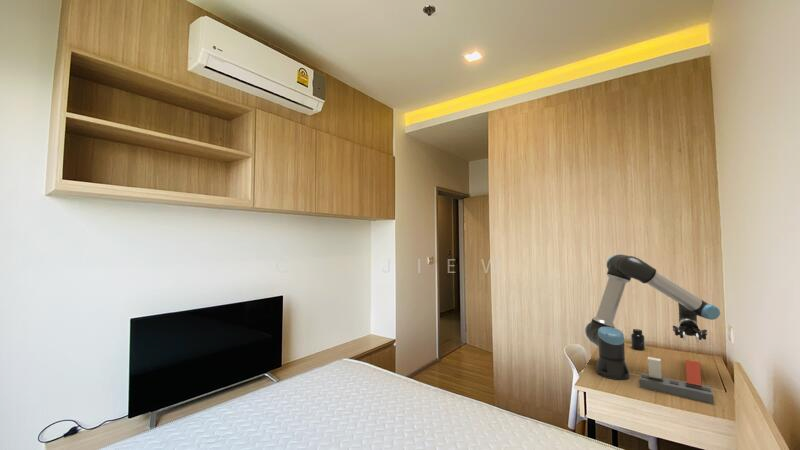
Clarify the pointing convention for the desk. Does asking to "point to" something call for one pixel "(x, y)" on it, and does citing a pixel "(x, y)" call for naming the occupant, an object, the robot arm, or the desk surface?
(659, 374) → the white rocker
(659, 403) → the desk surface
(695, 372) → the red upright block
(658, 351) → the desk surface
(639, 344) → the supplement bottle
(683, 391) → the grey slotted base
